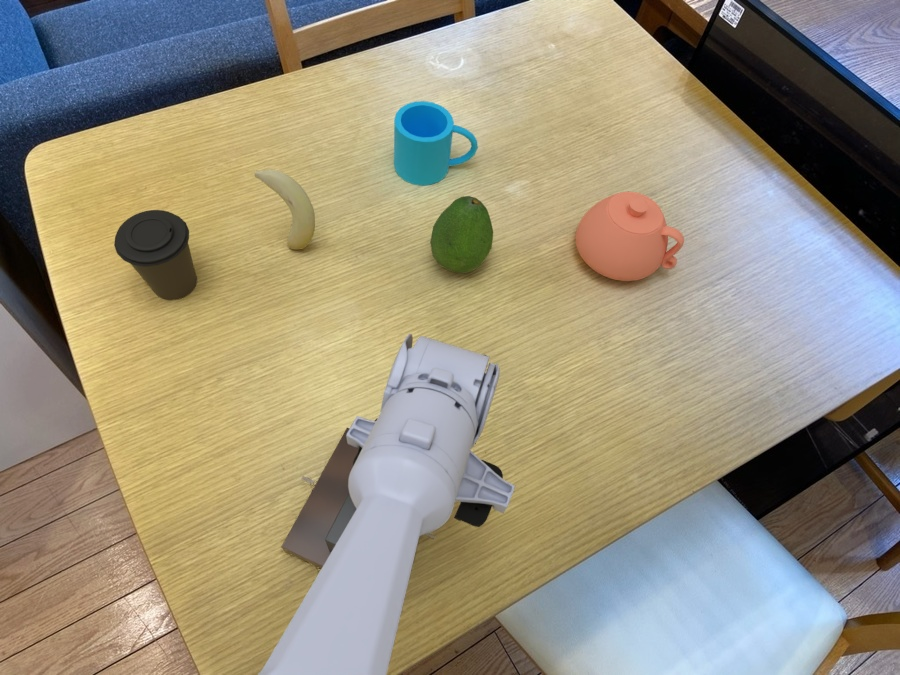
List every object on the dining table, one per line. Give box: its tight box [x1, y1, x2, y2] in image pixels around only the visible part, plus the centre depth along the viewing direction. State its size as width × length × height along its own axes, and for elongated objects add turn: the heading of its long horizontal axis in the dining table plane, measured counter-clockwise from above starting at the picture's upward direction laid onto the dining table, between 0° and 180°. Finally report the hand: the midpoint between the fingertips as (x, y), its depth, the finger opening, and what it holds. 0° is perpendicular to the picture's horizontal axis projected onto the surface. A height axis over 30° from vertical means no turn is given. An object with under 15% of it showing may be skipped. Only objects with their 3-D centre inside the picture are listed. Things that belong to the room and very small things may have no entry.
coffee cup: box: [113, 209, 198, 301], centre depth 75 cm, size 8×8×10 cm
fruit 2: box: [429, 195, 494, 274], centre depth 79 cm, size 8×8×12 cm
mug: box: [393, 100, 479, 186], centre depth 90 cm, size 12×8×8 cm
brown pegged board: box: [280, 427, 436, 570], centre depth 66 cm, size 15×15×2 cm
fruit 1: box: [254, 169, 316, 250], centre depth 78 cm, size 6×12×3 cm
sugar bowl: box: [574, 191, 685, 282], centre depth 83 cm, size 12×14×10 cm
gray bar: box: [325, 493, 356, 552], centre depth 62 cm, size 11×3×5 cm, turn 157°
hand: (424, 492), depth 60 cm, fingers open, 7 cm apart
